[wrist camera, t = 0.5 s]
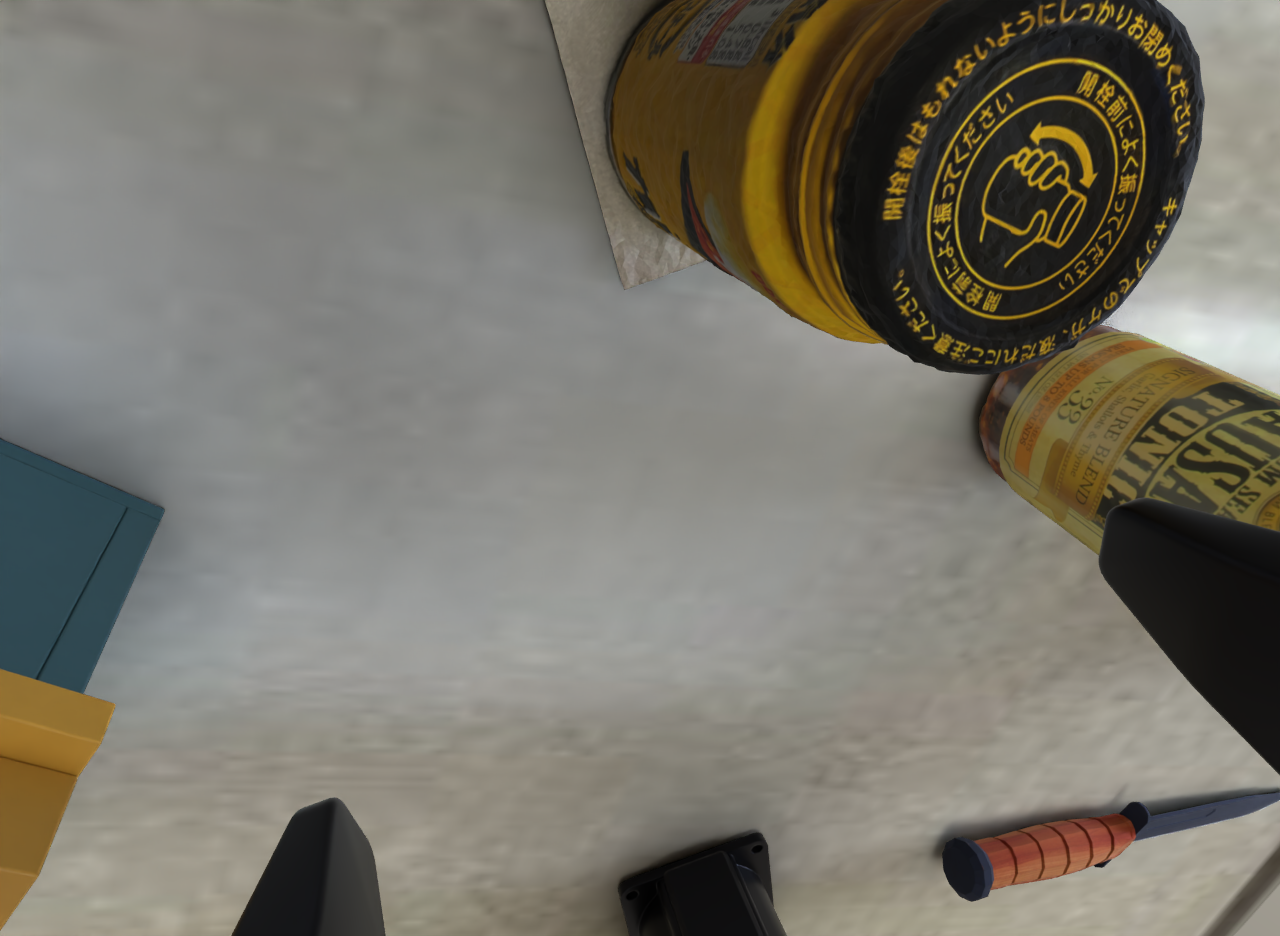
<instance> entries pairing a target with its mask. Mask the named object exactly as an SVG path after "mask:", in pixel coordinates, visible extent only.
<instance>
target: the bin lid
mask: <svg viewBox="0 0 1280 936" xmlns="http://www.w3.org/2000/svg"><path fill="white" fill-rule="evenodd" d="M114 709H115V704H114V703H111V702H108V701H104V700H101V699H98V698H95V697H91V696H88V695H85V694H81V693H78V692H75V691H72V690H68V689H65V688H62V687H58V686H55V685H52V684H49V683H45V682H42V681H39V680H35V679H32V678H29V677H26V676H22V675H19V674H16V673H13V672H9V671H6V670H3V669H0V930H1V929H2V927H3V926H4V925H5V923H6V922H7V920H8V919H9V917H10V916H11V915H12V913H13V912H14V910H15V909H16V907H17V906H18V905H19V903H20V902H21V900H22V899H23V897H24V896H25V894H26V893H27V892H28V890H29V889H30V887H31V886H32V884H33V883H34V882H35V880H36V879H37V877H38V876H39V874H40V872H41V869H42V867H43V864H44V862H45V859H46V857H47V854H48V852H49V849H50V847H51V844H52V842H53V839H54V837H55V834H56V832H57V829H58V827H59V824H60V822H61V819H62V817H63V814H64V812H65V809H66V807H67V804H68V802H69V799H70V797H71V794H72V792H73V789H74V787H75V784H76V782H77V778H78V776H79V775H80V773H81V772H82V771H83V769H84V768H85V766H86V765H87V763H88V762H89V760H90V759H91V757H92V756H93V755H94V753H95V752H96V750H97V749H98V747H99V746H100V744H101V743H102V740H103V737H104V735H105V732H106V730H107V727H108V725H109V722H110V719H111V717H112V714H113V712H114Z"/></svg>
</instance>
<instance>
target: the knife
mask: <svg viewBox="0 0 1280 936" xmlns="http://www.w3.org/2000/svg"><path fill="white" fill-rule="evenodd" d="M1279 800H1280V792H1278V793H1272V794H1264V795H1251V796H1246V797H1240V798H1235V799H1229V800H1224V801H1220V802H1215V803H1210V804H1206V805H1201V806H1196V807H1192V808H1187V809H1182V810H1178V811H1173V812H1168V813H1164V814H1159V815H1154V816H1150V813H1149V811H1148V809H1147V807H1146V806H1144V805H1143V804H1142V803H1140V802H1131V803H1129V805H1128V806H1127V807H1126V808H1125V809H1124V810H1123V811H1122V812H1121V813H1120V814H1110V815H1106V816H1101V817H1089V818H1088V819H1087V818H1084V819H1070V820H1065V821H1056V822H1050V823H1044V824H1041V825H1035V826H1031V827H1027V828H1024V829H1020V830H1017V831H1013V832H1010V833H1006V834H1003V835H999V836H996V837H993V838H991V837H989V838H984V839H980V840H975V841H972V840H970V839H967V838H964V837H958V838H954V839H952V840H950V841H948V842H946V844H945V847H944V850H943V853H942V858H943V870H944V872H945V875H946V877H947V880H948V882H949V884H950V885H951V887H952V888H953V889H954V890H955V891H956V892H957V894H958V895H959V896H960V897H962V898H964V899H966V900H969V901H971V902H972V901H976V900H980V899H982V898H985V897H987V896H988V895H989V892H990V890H994V889H998V888H1003V887H1005V886H1009V885H1016V884H1023V883H1029V882H1035V881H1041V880H1046V879H1052V878H1055V877H1060V876H1063V875H1067V874H1070V873H1074V872H1077V871H1080V870H1083V869H1085V868H1088V867H1090V866H1093V865H1094V866H1095V867H1101V868H1102V867H1104V866H1105V865H1106V864H1107V863H1109V862H1110V861H1111V860H1112V859H1113V858H1115V857H1117V856H1119V855H1120V854H1121V853H1122V852H1123V851H1124V850H1125V849H1126V848H1127V847H1128V846H1129V845H1130V844H1131V843H1132V842H1136V841H1140V840H1145V839H1149V838H1154V837H1158V836H1162V835H1167V834H1171V833H1175V832H1180V831H1184V830H1188V829H1193V828H1197V827H1201V826H1206V825H1210V824H1214V823H1218V822H1222V821H1226V820H1230V819H1234V818H1238V817H1242V816H1245V815H1248V814H1251V813H1254V812H1256V811H1258V810H1261V809H1263V808H1266V807H1267V806H1269V805H1271V804H1273V803H1275V802H1277V801H1279Z"/></svg>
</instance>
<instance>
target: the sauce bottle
mask: <svg viewBox="0 0 1280 936" xmlns="http://www.w3.org/2000/svg"><path fill="white" fill-rule="evenodd" d="M979 434H980V437H981V440H982V442H983V447H984V450H985V453H986V456H987V459H988V462H989V464H990V465H991V467H992V468H993V470H994V471H995V472H996V473H997V474H998V475H999V476H1000V477H1001V478H1002V479H1003V480H1005V481H1006V482H1007V483H1008V484H1009V485H1010V487H1011V488H1012V489H1013V490H1014V491H1015V492H1016V493H1017V494H1018V495H1020V496H1021V497H1022V498H1024V499H1025V500H1026V501H1028V502H1029V503H1030V504H1031V505H1033V506H1034V507H1035V508H1037V509H1038V510H1039V511H1041V512H1042V513H1043V514H1045V515H1046V516H1047V517H1049V518H1050V519H1051V520H1053V521H1054V522H1055V523H1057V524H1058V525H1059V526H1061V527H1062V528H1063V529H1065V530H1066V531H1067V532H1069V533H1070V534H1071V535H1073V536H1074V537H1075V538H1077V539H1078V540H1079V541H1080V542H1082V543H1083V544H1084V545H1086V546H1087V547H1088V548H1090V549H1091V550H1092V551H1094V552H1095V553H1096V554H1098V555H1099V553H1100V548H1101V542H1102V537H1103V531H1104V526H1105V520H1106V517H1107V514H1108V512H1109V511H1110V510H1111V509H1112V508H1114V507H1115V506H1118V505H1121V504H1123V503H1126V502H1129V501H1131V500H1134V499H1137V498H1144V497H1145V498H1152V499H1157V500H1160V501H1164V502H1168V503H1172V504H1176V505H1180V506H1183V507H1187V508H1191V509H1195V510H1199V511H1203V512H1207V513H1210V514H1214V515H1218V516H1222V517H1226V518H1230V519H1233V520H1237V521H1241V522H1245V523H1249V524H1253V525H1257V526H1260V527H1264V528H1268V529H1272V530H1276V531H1280V395H1278V394H1276V393H1273V392H1271V391H1269V390H1266V389H1264V388H1262V387H1259V386H1257V385H1255V384H1252V383H1250V382H1248V381H1245V380H1243V379H1241V378H1238V377H1236V376H1234V375H1232V374H1229V373H1227V372H1225V371H1222V370H1220V369H1218V368H1216V367H1213V366H1211V365H1209V364H1207V363H1204V362H1202V361H1200V360H1197V359H1195V358H1193V357H1190V356H1188V355H1186V354H1183V353H1181V352H1179V351H1176V350H1174V349H1172V348H1169V347H1167V346H1165V345H1162V344H1160V343H1158V342H1155V341H1153V340H1151V339H1148V338H1146V337H1144V336H1141V335H1139V334H1135V333H1130V332H1122V331H1119V330H1117V329H1114V328H1112V327H1109V326H1104V325H1098V326H1097V327H1095V328H1094V329H1092V330H1091V331H1089V332H1087V333H1086V334H1085V335H1084V336H1082V337H1081V338H1080V339H1079V341H1078V343H1077V345H1076V346H1075V347H1074V348H1072V349H1069V350H1066V351H1061V352H1058V353H1056V354H1054V355H1052V356H1051V357H1049V358H1046V359H1043V360H1040V361H1037V362H1034V363H1029V364H1026V365H1023V366H1021V367H1018V368H1016V369H1013V370H1009V371H1005V372H1000V374H999V376H998V378H997V380H996V381H995V383H994V384H993V386H992V388H991V390H990V393H989V395H988V397H987V402H986V404H985V405H984V406H983V407H982V411H981V415H980V417H979Z"/></svg>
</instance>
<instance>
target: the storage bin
mask: <svg viewBox="0 0 1280 936" xmlns="http://www.w3.org/2000/svg"><path fill="white" fill-rule="evenodd" d="M163 514H164V509H163V508H160V507H158V506H156V505H153V504H151V503H149V502H146V501H144V500H142V499H139V498H137V497H135V496H132V495H130V494H128V493H125V492H123V491H121V490H118V489H116V488H114V487H111V486H109V485H107V484H104V483H102V482H100V481H97V480H95V479H93V478H90V477H88V476H86V475H83V474H81V473H79V472H76V471H74V470H72V469H69V468H67V467H65V466H62V465H60V464H58V463H55V462H53V461H51V460H48V459H46V458H44V457H41V456H39V455H37V454H34V453H32V452H30V451H27V450H25V449H23V448H20V447H18V446H16V445H13V444H11V443H9V442H6V441H4V440H2V439H0V669H3V670H6V671H9V672H13V673H16V674H19V675H22V676H26V677H29V678H32V679H35V680H39V681H42V682H45V683H49V684H52V685H55V686H58V687H62V688H65V689H68V690H72V691H75V692H78V693H81V694H83V693H84V691H85V689H86V686H87V684H88V682H89V680H90V677H91V675H92V673H93V671H94V668H95V666H96V664H97V662H98V660H99V657H100V655H101V653H102V651H103V648H104V646H105V644H106V642H107V639H108V637H109V635H110V633H111V630H112V628H113V626H114V624H115V621H116V619H117V617H118V615H119V612H120V610H121V608H122V606H123V603H124V601H125V599H126V597H127V595H128V592H129V590H130V588H131V586H132V583H133V581H134V579H135V577H136V574H137V572H138V570H139V568H140V565H141V563H142V561H143V559H144V556H145V554H146V552H147V550H148V547H149V545H150V543H151V541H152V538H153V536H154V534H155V532H156V529H157V527H158V525H159V522H160V521H161V518H162V516H163Z"/></svg>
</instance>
